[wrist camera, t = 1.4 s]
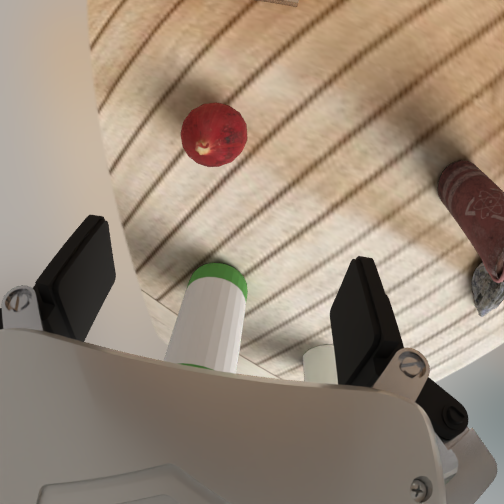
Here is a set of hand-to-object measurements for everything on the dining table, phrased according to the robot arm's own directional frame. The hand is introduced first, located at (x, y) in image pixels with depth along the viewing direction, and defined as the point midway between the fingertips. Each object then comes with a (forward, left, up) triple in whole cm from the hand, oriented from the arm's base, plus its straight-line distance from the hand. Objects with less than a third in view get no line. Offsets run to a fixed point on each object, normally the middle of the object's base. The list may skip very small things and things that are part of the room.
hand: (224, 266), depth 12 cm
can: (+1, +23, -22) cm, 32 cm away
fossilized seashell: (+13, +38, -22) cm, 46 cm away
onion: (+1, -4, -22) cm, 22 cm away
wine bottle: (+22, -2, -22) cm, 31 cm away
